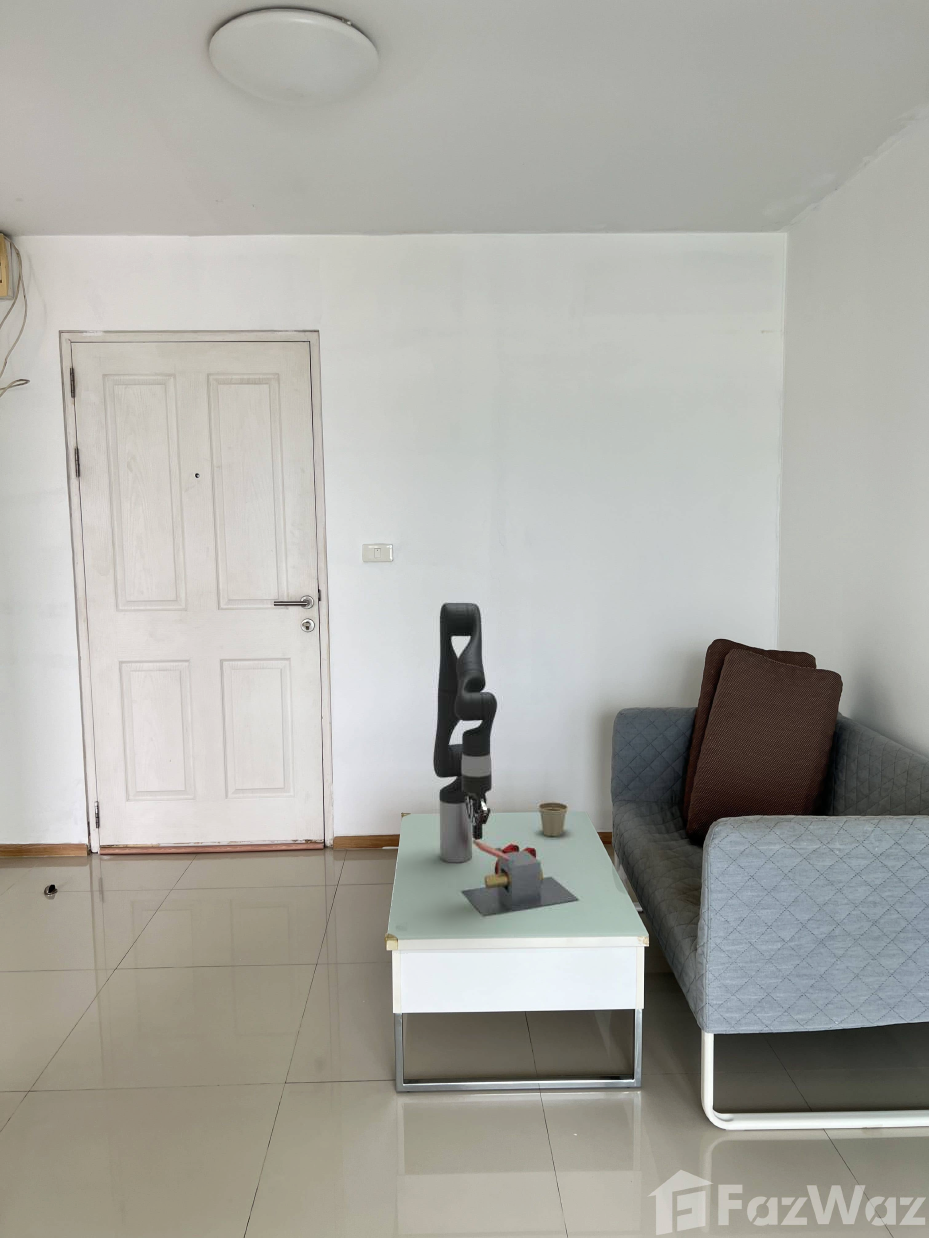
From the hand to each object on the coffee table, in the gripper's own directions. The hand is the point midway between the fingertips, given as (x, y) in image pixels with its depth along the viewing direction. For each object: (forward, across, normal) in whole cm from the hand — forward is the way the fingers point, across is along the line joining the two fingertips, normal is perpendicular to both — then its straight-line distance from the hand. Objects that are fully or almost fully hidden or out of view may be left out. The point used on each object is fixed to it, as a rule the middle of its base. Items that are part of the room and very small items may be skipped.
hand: (477, 838), depth 219 cm
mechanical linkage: (+17, +18, -17) cm, 30 cm away
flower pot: (+17, +40, -40) cm, 59 cm away
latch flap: (+4, 0, -4) cm, 6 cm away
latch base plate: (+17, 0, -11) cm, 20 cm away
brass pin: (+15, 0, -10) cm, 18 cm away
